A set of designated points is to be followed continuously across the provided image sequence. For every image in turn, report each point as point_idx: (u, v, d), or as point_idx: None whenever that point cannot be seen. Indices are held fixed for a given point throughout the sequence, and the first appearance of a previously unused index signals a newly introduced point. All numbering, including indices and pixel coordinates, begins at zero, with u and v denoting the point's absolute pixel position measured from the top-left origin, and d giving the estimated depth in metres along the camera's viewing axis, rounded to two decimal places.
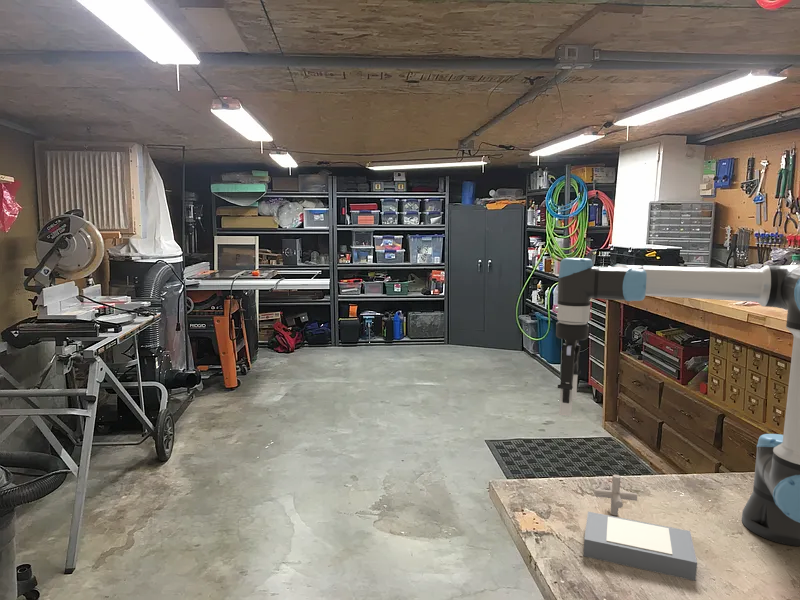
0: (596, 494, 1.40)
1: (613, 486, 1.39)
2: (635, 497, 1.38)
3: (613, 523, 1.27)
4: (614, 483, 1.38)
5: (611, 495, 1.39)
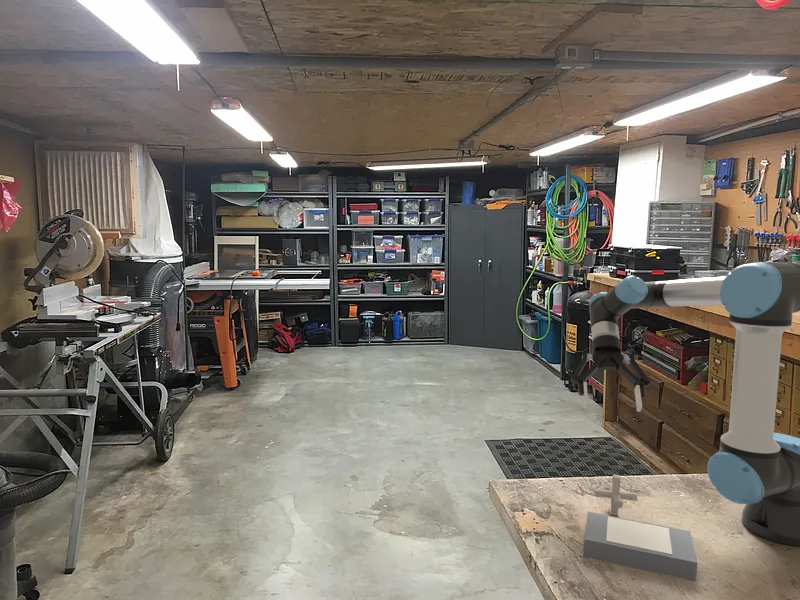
0: (596, 494, 1.40)
1: (613, 486, 1.39)
2: (635, 497, 1.38)
3: (613, 523, 1.27)
4: (614, 483, 1.38)
5: (611, 495, 1.39)
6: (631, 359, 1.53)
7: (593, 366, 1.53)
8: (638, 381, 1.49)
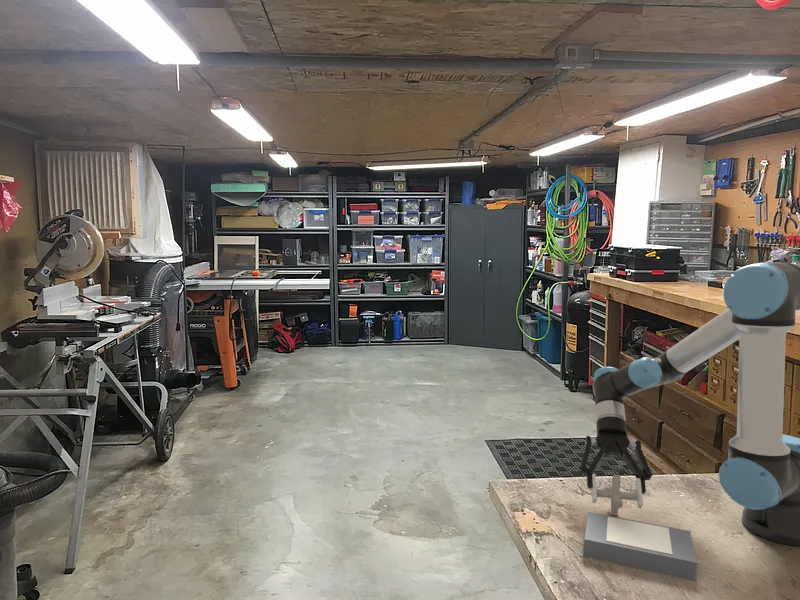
0: None
1: (613, 486, 1.39)
2: (635, 497, 1.38)
3: (613, 523, 1.27)
4: (614, 483, 1.38)
5: (611, 495, 1.39)
6: (637, 446, 1.44)
7: (599, 453, 1.44)
8: (639, 473, 1.39)
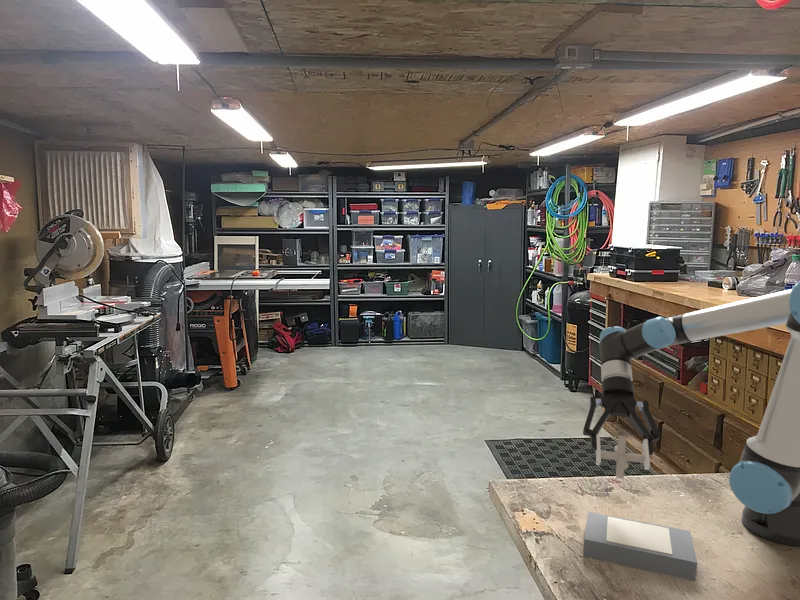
0: None
1: (618, 447, 1.32)
2: (642, 458, 1.30)
3: (613, 523, 1.27)
4: (619, 444, 1.31)
5: (616, 457, 1.32)
6: (644, 406, 1.36)
7: (604, 414, 1.37)
8: (647, 434, 1.32)
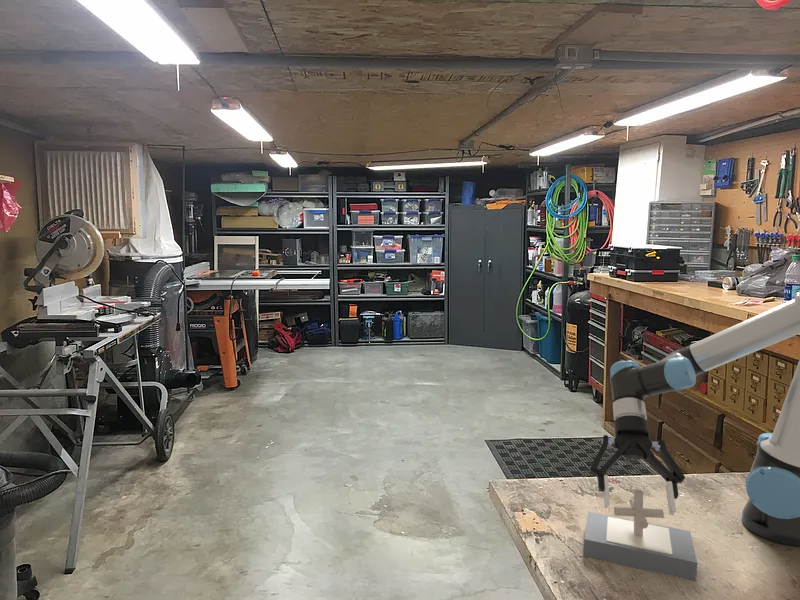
0: (616, 513, 1.22)
1: (635, 503, 1.22)
2: (662, 514, 1.21)
3: (613, 523, 1.27)
4: (636, 499, 1.21)
5: (634, 513, 1.22)
6: (661, 446, 1.28)
7: (615, 454, 1.29)
8: (670, 476, 1.24)
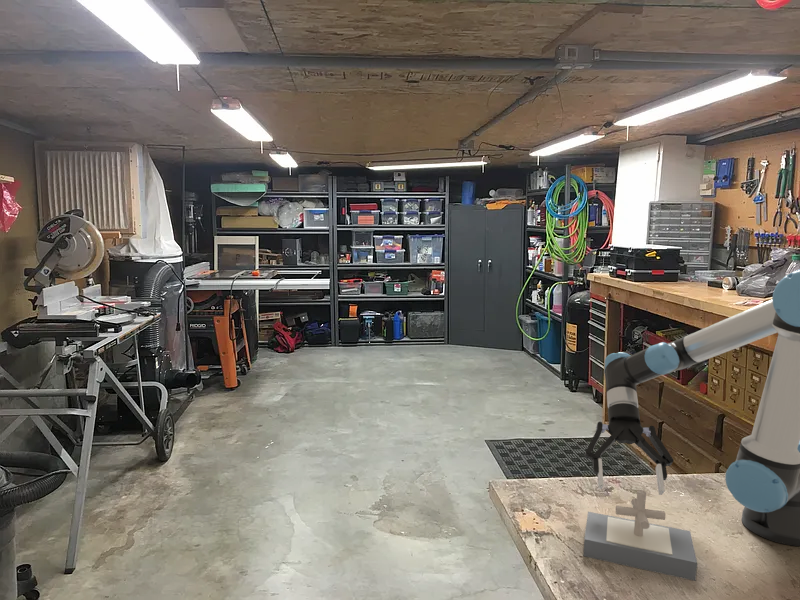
0: (618, 512, 1.22)
1: (638, 503, 1.22)
2: (663, 516, 1.20)
3: (613, 523, 1.27)
4: (639, 500, 1.21)
5: (635, 513, 1.22)
6: (652, 432, 1.38)
7: (609, 439, 1.38)
8: (660, 459, 1.33)
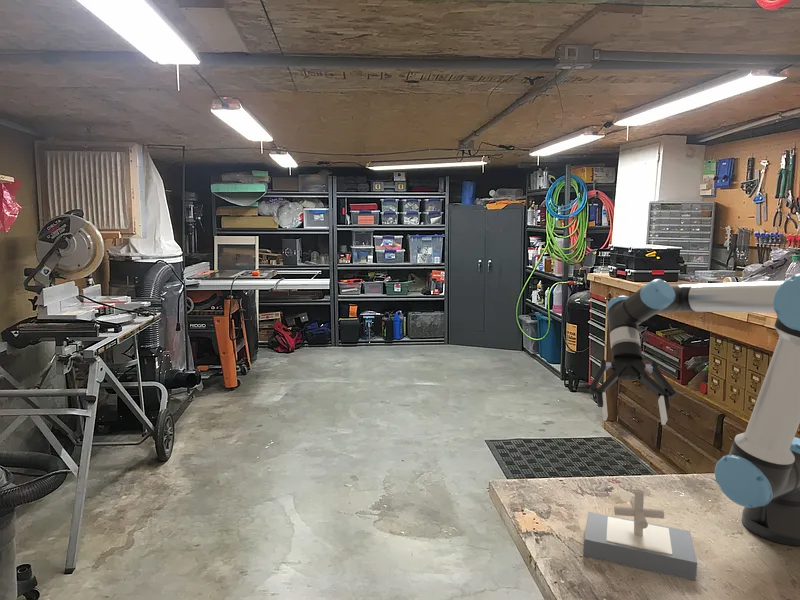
0: (616, 512, 1.23)
1: (636, 503, 1.22)
2: (662, 515, 1.20)
3: (613, 523, 1.27)
4: (636, 499, 1.21)
5: (634, 513, 1.22)
6: (654, 367, 1.42)
7: (612, 375, 1.42)
8: (662, 391, 1.37)
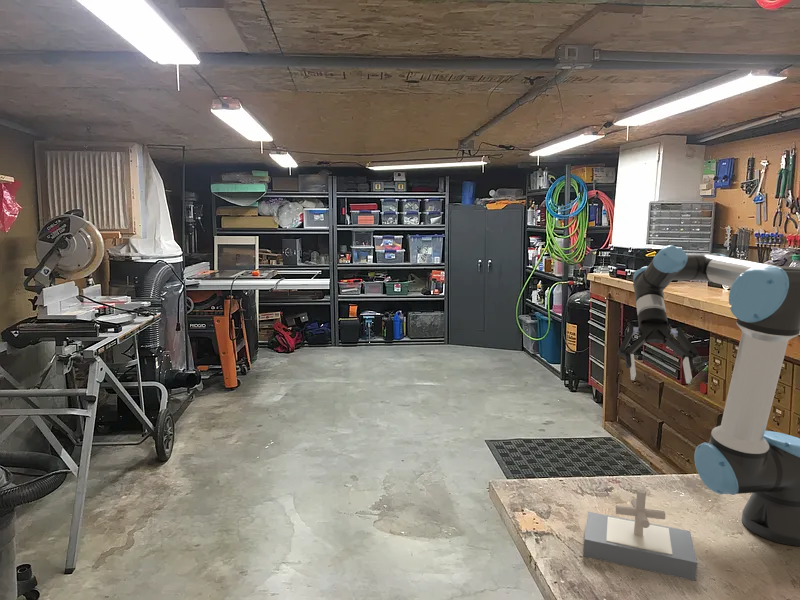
0: (618, 511, 1.23)
1: (637, 503, 1.22)
2: (663, 515, 1.21)
3: (613, 523, 1.27)
4: (639, 499, 1.22)
5: (635, 513, 1.22)
6: (679, 332, 1.52)
7: (640, 339, 1.52)
8: (687, 353, 1.47)
